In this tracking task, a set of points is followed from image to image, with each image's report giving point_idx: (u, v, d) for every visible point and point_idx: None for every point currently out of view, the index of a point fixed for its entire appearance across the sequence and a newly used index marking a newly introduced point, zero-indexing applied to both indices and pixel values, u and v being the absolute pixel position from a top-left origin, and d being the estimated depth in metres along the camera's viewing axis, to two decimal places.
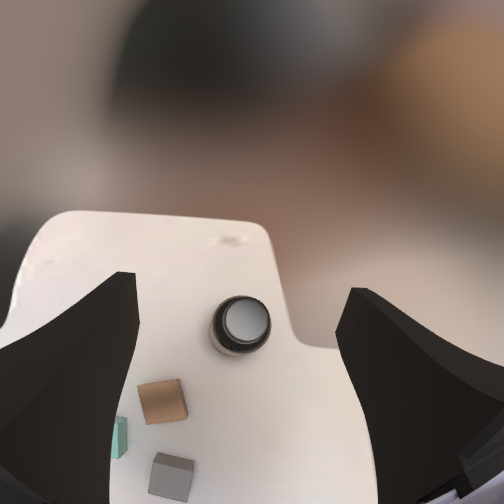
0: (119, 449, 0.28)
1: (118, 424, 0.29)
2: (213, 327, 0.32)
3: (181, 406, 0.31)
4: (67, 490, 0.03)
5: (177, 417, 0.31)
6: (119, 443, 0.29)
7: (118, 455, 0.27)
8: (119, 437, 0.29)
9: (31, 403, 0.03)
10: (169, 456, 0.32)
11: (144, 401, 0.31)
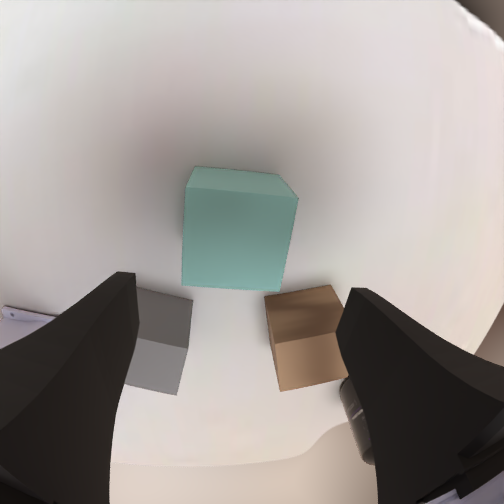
0: None
1: None
2: None
3: (303, 385, 0.19)
4: (67, 490, 0.03)
5: (284, 382, 0.19)
6: None
7: None
8: None
9: (31, 403, 0.03)
10: None
11: (323, 339, 0.17)
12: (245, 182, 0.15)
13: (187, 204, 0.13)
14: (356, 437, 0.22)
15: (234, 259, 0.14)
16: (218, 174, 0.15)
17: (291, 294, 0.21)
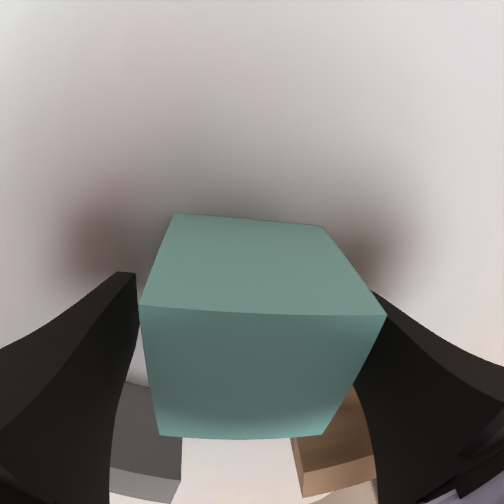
0: None
1: None
2: None
3: (332, 490, 0.12)
4: (67, 490, 0.03)
5: (309, 492, 0.12)
6: None
7: None
8: None
9: (31, 403, 0.03)
10: None
11: (368, 458, 0.10)
12: (272, 265, 0.07)
13: (148, 336, 0.05)
14: None
15: (250, 411, 0.07)
16: (216, 238, 0.08)
17: None
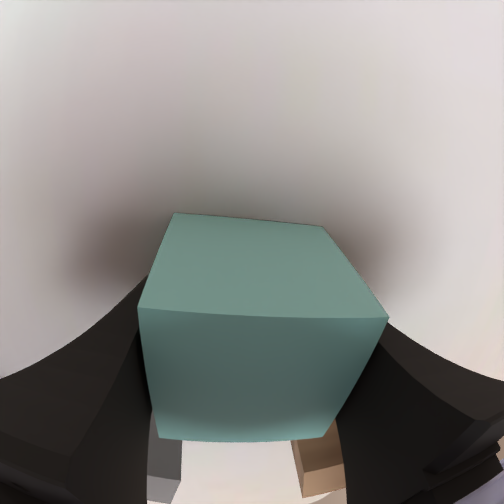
0: None
1: None
2: None
3: (332, 490, 0.12)
4: None
5: (309, 492, 0.12)
6: None
7: None
8: None
9: (92, 420, 0.03)
10: None
11: None
12: (272, 267, 0.07)
13: (147, 339, 0.05)
14: None
15: (250, 415, 0.07)
16: (215, 240, 0.08)
17: None
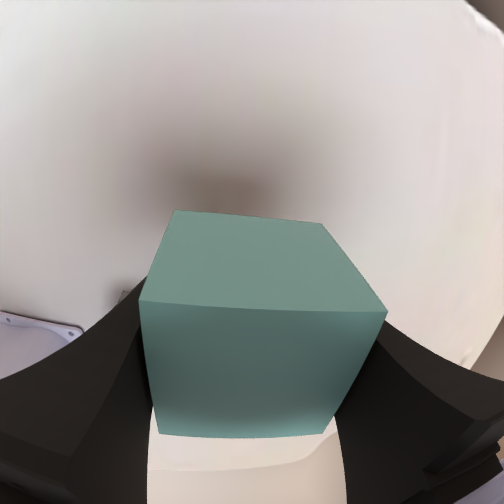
0: None
1: None
2: None
3: None
4: None
5: None
6: None
7: None
8: None
9: (92, 420, 0.03)
10: None
11: None
12: (272, 262, 0.07)
13: (148, 332, 0.05)
14: None
15: (250, 410, 0.07)
16: (216, 236, 0.08)
17: None
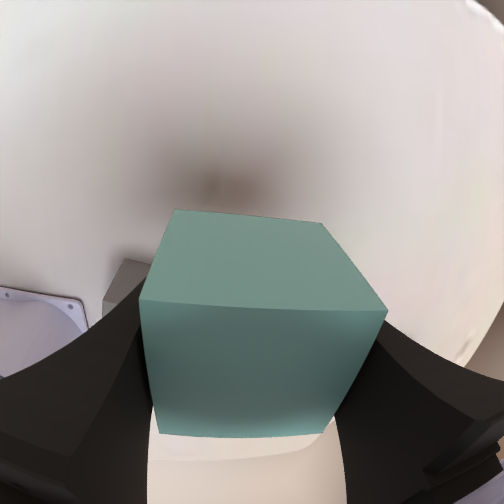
0: None
1: None
2: None
3: None
4: None
5: None
6: None
7: None
8: None
9: (92, 420, 0.03)
10: None
11: None
12: (272, 261, 0.07)
13: (148, 332, 0.05)
14: None
15: (251, 409, 0.07)
16: (216, 235, 0.08)
17: None
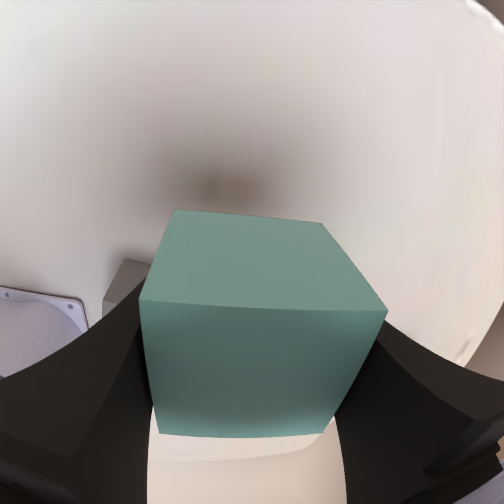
0: None
1: None
2: None
3: None
4: None
5: None
6: None
7: None
8: None
9: (92, 420, 0.03)
10: None
11: None
12: (272, 261, 0.07)
13: (148, 332, 0.05)
14: None
15: (251, 409, 0.07)
16: (216, 235, 0.08)
17: None
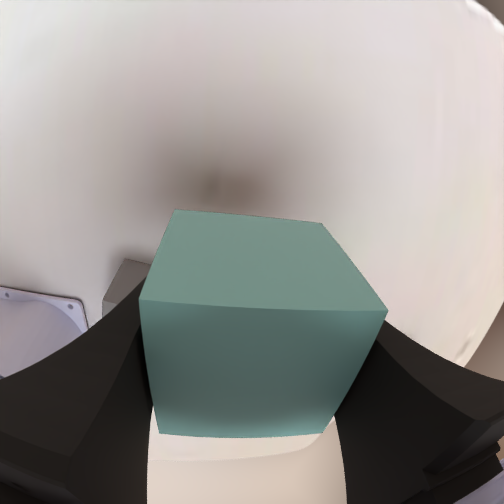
0: None
1: None
2: None
3: None
4: None
5: None
6: None
7: None
8: None
9: (92, 420, 0.03)
10: None
11: None
12: (272, 261, 0.07)
13: (148, 332, 0.05)
14: None
15: (251, 409, 0.07)
16: (216, 235, 0.08)
17: None
